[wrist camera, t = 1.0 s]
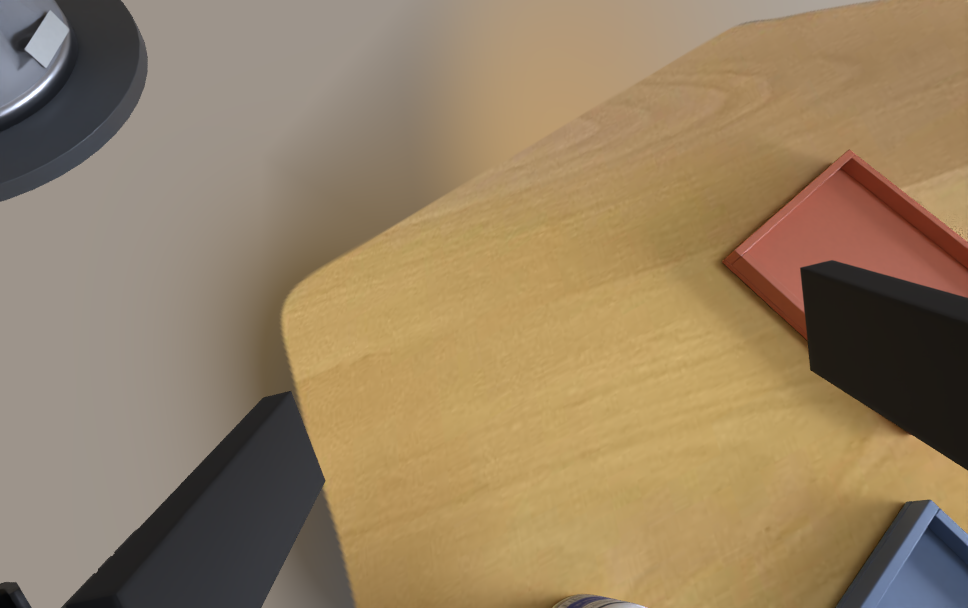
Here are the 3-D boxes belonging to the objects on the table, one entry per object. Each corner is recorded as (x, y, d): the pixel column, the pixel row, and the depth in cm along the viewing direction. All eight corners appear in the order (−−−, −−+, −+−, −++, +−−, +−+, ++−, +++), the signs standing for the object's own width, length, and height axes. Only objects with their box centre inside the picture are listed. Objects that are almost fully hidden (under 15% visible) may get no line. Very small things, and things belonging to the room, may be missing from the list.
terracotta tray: (721, 261, 36) (734, 249, 34) (834, 162, 41) (849, 148, 40) (909, 435, 32) (933, 429, 31) (1006, 300, 38) (1030, 290, 36)
